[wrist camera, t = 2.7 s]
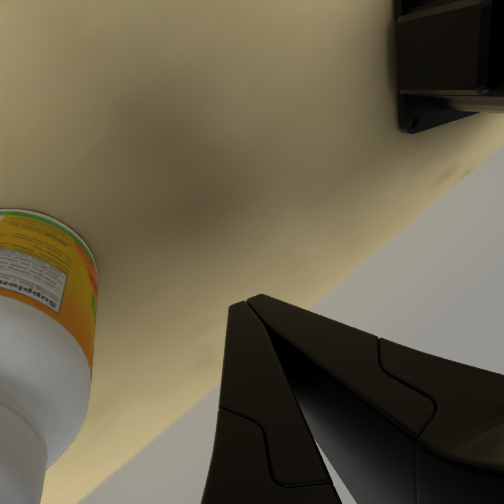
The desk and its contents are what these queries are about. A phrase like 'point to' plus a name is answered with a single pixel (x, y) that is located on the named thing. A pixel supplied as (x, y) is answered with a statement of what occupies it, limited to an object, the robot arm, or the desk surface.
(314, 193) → the desk surface
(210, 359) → the desk surface
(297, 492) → the robot arm
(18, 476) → the supplement bottle
